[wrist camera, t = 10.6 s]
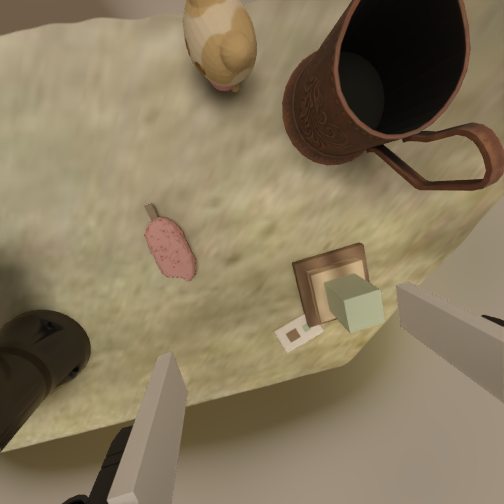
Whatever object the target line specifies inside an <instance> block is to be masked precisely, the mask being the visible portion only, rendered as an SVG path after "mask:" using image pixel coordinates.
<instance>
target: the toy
mask: <svg viewBox="0 0 504 504" xmlns="http://www.w3.org/2000/svg"><path fill="white" fill-rule="evenodd" d="M183 27H184V37H185V42H186V47H187V50H188V53H189V56H190V58H191V60H192V62H193V64H194V65H195V67H196V68H197V70H198V71H199V72H200V73H201V74H202V75H203V76H204V77H206V78H207V79H208V80H209V81H210V82H211V84H212V85H213V86H214V87H215V88H216V89H217V90H220V91H229V90H231V89H232V91H233V92H236V91H238V90H239V88H240V85H239V83H240V82H242V81H243V80H244V79H245V78H247V76H248V75H249V74H250V73H251V71H252V69H253V67H254V64H255V60H256V55H257V43H256V36H255V31H254V27H253V24H252V21H251V19H250V17H249V15H248V13H247V11H246V9H245V8H244V6H243V5H242V4H241V2H240V1H239V0H187V1H186V4H185V8H184V17H183Z"/></svg>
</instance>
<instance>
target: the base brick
mask: <svg viewBox="0 0 504 504" xmlns="http://www.w3.org/2000/svg"><path fill="white" fill-rule="evenodd" d="M292 265H293V269H294V273H295V277H296V281H297V285H298V289H299V293H300V298H301V302H302V306H303V310H304V313H305V317H306V321H307V325H308V327H309V328H310V327H314V326H317V325H320V324H323V323H326V322H329V321H333V320H336V319H337V318H336V317H335V316H334V315H333V314H332V313H331V311H330V310H329V305H328V300H327V295H326V291H325V286H324V282H327V281H330V280H333V279H337V278H340V277H343V276H346V275H350V274H353V273H355V274H356V275H358V276H360V277H361V278H363V279H364V280H366V281H368V282H369V276H368V270H367V263H366V257H365V251H364V245H363V244H362V243H356V244H353V245H350V246H346V247H343V248H340V249H336V250H333V251H330V252H326V253H323V254H320V255H316V256H313V257H310V258H306V259H303V260H300V261H296V262H293V263H292ZM369 283H370V282H369Z"/></svg>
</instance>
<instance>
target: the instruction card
mask: <svg viewBox="0 0 504 504" xmlns="http://www.w3.org/2000/svg"><path fill="white" fill-rule="evenodd" d="M322 332H324V331H323V329H322V327H321V325H317V326H314V327H310V328H309V327H308V325H307V321H306V317H305V313H304V314H302V315H300V316H299V317H297V318H295V319H294V320H292V321H290V322H288V323H287V324H285V325H283V326H282V327H280V328H278V329H277V330H275V331H274V333H275V334H276V336H277V337H278V339H279V341H280V342H281V344H282V345H283V347H284V348H285V350H286V351H287V353H288V352H290V351H292V350H293V349H295V348H297V347H298V346H300V345H302V344H304V343H305V342H307V341H309V340H310V339H312V338H314V337H315V336H317V335H319V334H321V333H322Z"/></svg>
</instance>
